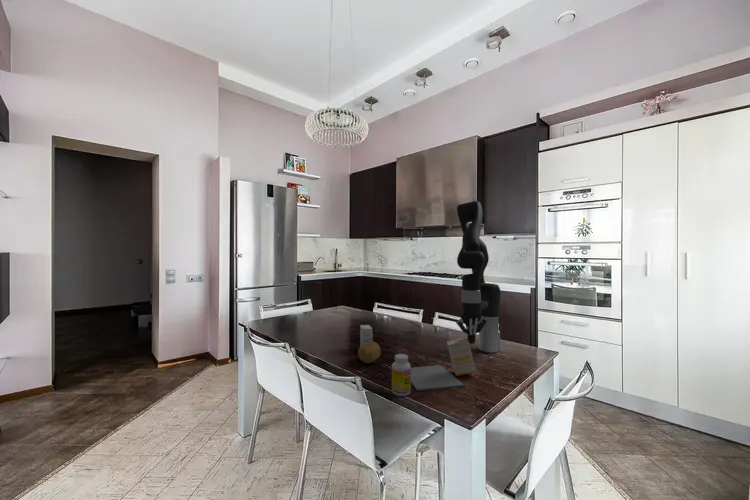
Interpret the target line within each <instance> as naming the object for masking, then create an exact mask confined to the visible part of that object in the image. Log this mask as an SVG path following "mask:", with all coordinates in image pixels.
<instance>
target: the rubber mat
mask: <svg viewBox="0 0 750 500" xmlns="http://www.w3.org/2000/svg"><path fill="white" fill-rule="evenodd" d="M464 385H465V384H464V383H463V382H462V381H460V379H458V378H457V377H455V376H454V375H453V374H452V373H451V372H449V370H447V369H446V368H445V367H443V366H442V365H428V366H416V367H415V366H414V367H411V386H413V387H414V388H415V390H416V391H417V392H420V391H430V390H442V389H450V388H460V387H464Z"/></svg>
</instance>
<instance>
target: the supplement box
mask: <svg viewBox="0 0 750 500" xmlns="http://www.w3.org/2000/svg"><path fill="white" fill-rule="evenodd" d="M446 344H447V345H446V346H447V349H448V352H449V356H450V360H451V364H452V367H453V372H454V375H455V376H456V377H458V376H459V377H460V376H463V375H467V374H473V373H476V372H477V371H476V365H475V363H474V357H473V354H472V349H471V346H470V345H471V344H470V343H469V341H468V340H467V336H464V337H460V338H455V339H451V340H446Z"/></svg>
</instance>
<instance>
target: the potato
mask: <svg viewBox="0 0 750 500" xmlns="http://www.w3.org/2000/svg"><path fill="white" fill-rule="evenodd" d="M381 352H382V351H381V346H380V345H379V344H378V342H376V341H370V342H368V343H366V344H363V345H362V346H361V347H360V346H359V348H358V350H357V355H358V358H359V360H361V362H362V363H365V364H371V363H374V362H375V361H376V360H378V359H379V358H380V356H381Z"/></svg>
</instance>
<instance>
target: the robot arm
mask: <svg viewBox="0 0 750 500" xmlns="http://www.w3.org/2000/svg"><path fill="white" fill-rule="evenodd" d="M456 213H457V218H458V221H459V225H460V227H461V231H462V240H461V242H462V243H461V244H462V245H461V249H460V251H459V253H458V255H457V258H456V263H457V266H458V267H459V268H460V269H466V270H471V273H468V274H464V275H462V277H461V296H460V297H461V315H460V319H459V320H456V321H455V323H456V325H457V326H458V327H459V329H460V330H461V331H462V332H463V333H465V334H466V335H467V336H466V338H467V340H468V341H469V345H473V344H475V343H476V336H477V334H478V349H479V351H481V352H485V353H497V352H500V351H501V331H500V330H499V313H500V306H501V287H500V286H499V285H498V283H497V284H496V283H488V282H486V281H485V277H484V276H485V275H484V274H485V270H486V268H487V266H488V263H489V258H490V257H489V253H488V247H487V245H486V243H485V242H484V241H483V240H482V239H481V238H480V233H481V228H482V221H483V215H484V213H483V207H482V204H481V202H480V201H478V200H474V201H473V200H472V201H470V202H464V203H460V204H458V205H457V206H456ZM482 302H487V303H488V305H487V306H486V307H483V308H482ZM464 325H465V326H464Z"/></svg>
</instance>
